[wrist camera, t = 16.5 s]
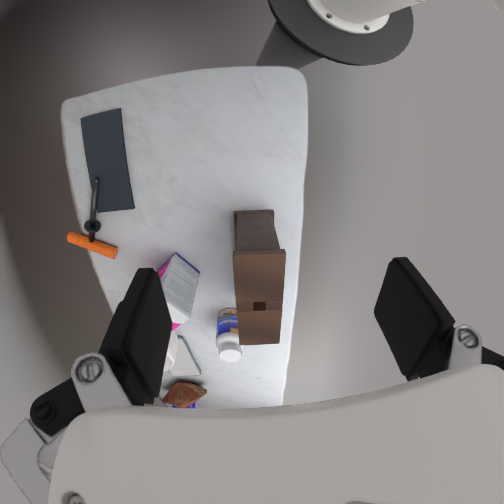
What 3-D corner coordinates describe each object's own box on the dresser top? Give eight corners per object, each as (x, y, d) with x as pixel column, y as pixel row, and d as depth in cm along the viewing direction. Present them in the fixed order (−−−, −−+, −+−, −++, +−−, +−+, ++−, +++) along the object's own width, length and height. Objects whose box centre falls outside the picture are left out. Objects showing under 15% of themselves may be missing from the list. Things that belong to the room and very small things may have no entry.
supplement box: (175, 250, 44) (159, 296, 35) (200, 271, 47) (192, 319, 37) (155, 270, 46) (138, 315, 36) (180, 289, 49) (169, 336, 39)
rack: (234, 211, 41) (232, 255, 30) (273, 209, 41) (286, 253, 31) (238, 292, 50) (239, 345, 39) (271, 290, 50) (279, 343, 39)
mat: (82, 118, 31) (80, 118, 31) (121, 108, 31) (119, 108, 31) (98, 211, 40) (97, 212, 39) (135, 207, 40) (133, 209, 39)
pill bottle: (244, 306, 52) (245, 346, 43) (245, 325, 54) (246, 364, 46) (216, 307, 51) (213, 347, 43) (218, 326, 54) (217, 364, 46)
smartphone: (182, 337, 55) (202, 375, 62) (183, 334, 55) (202, 372, 63) (148, 340, 55) (171, 376, 63) (149, 336, 56) (172, 373, 63)
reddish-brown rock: (162, 401, 66) (167, 421, 57) (155, 378, 66) (158, 396, 56) (203, 392, 71) (213, 410, 62) (198, 369, 71) (207, 386, 61)
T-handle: (76, 165, 34) (73, 235, 42) (66, 173, 32) (65, 245, 40) (129, 182, 36) (118, 252, 45) (121, 191, 34) (112, 263, 42)
